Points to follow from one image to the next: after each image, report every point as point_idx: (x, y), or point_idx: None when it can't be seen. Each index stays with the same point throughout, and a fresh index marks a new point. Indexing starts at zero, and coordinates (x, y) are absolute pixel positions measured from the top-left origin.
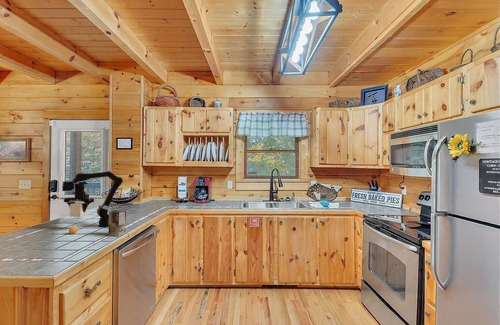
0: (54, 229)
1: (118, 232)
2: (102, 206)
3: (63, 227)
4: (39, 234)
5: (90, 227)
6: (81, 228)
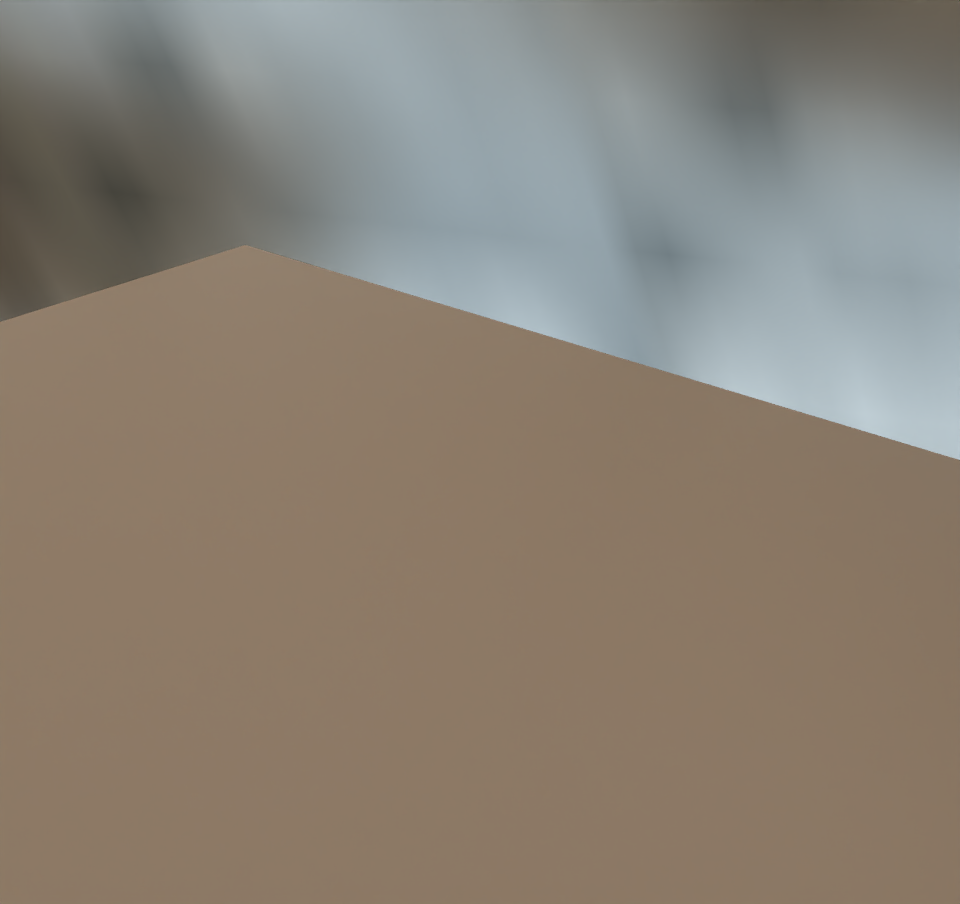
0: (27, 312)
1: None
2: None
3: (97, 88)
4: None
5: (953, 158)
6: (666, 282)
